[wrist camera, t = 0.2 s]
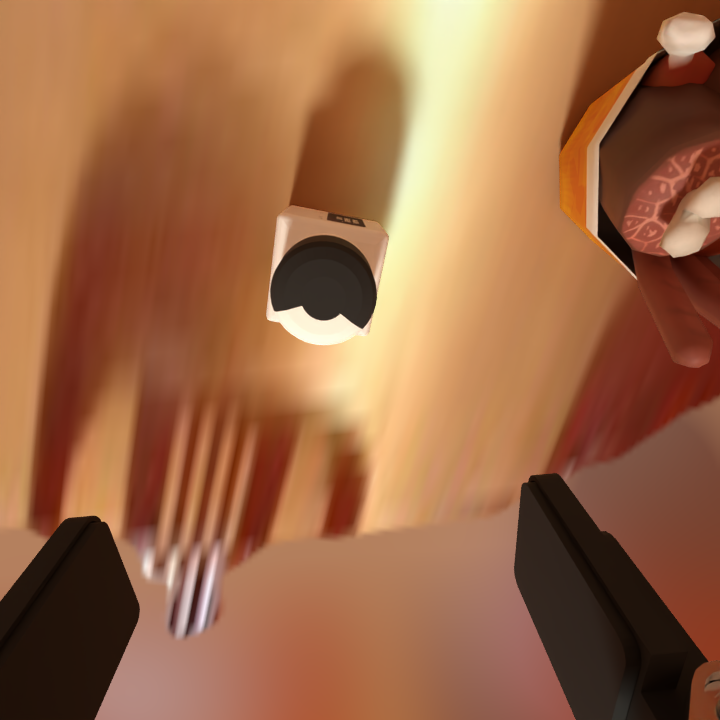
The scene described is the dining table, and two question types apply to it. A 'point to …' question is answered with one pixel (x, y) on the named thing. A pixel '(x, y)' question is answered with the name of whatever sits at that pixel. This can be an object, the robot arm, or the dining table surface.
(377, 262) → the container
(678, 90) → the bucket of meat
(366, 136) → the dining table surface
